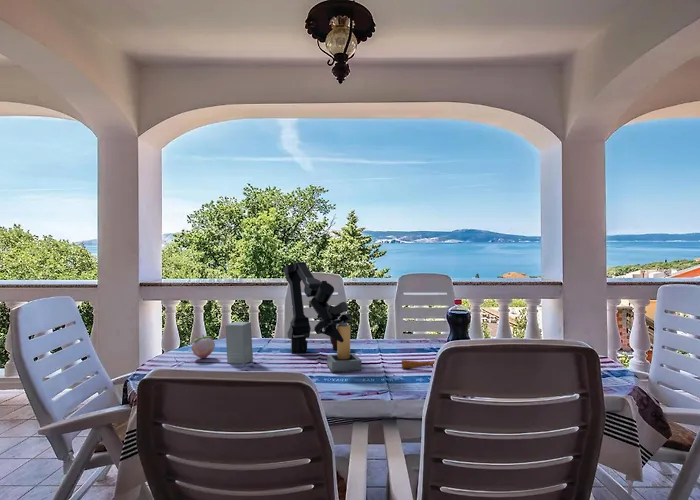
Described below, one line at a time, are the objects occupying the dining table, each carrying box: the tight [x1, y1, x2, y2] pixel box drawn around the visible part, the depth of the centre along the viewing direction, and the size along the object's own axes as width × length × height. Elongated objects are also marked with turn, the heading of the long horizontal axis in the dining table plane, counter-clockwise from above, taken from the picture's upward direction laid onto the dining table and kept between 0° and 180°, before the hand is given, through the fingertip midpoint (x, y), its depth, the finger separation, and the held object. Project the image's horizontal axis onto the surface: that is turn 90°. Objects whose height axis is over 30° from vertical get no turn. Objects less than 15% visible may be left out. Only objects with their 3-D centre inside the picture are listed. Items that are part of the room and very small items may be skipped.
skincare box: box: [225, 321, 254, 365], centre depth 167 cm, size 8×7×16 cm
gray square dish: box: [326, 353, 362, 374], centre depth 158 cm, size 11×11×4 cm
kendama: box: [401, 359, 434, 370], centre depth 156 cm, size 6×6×20 cm
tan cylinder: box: [336, 322, 351, 359], centre depth 158 cm, size 5×5×13 cm
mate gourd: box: [329, 336, 337, 351], centre depth 190 cm, size 8×8×15 cm
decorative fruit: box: [191, 334, 216, 359], centre depth 172 cm, size 9×8×10 cm
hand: (346, 340), depth 158 cm, fingers closed on tan cylinder, 5 cm apart
